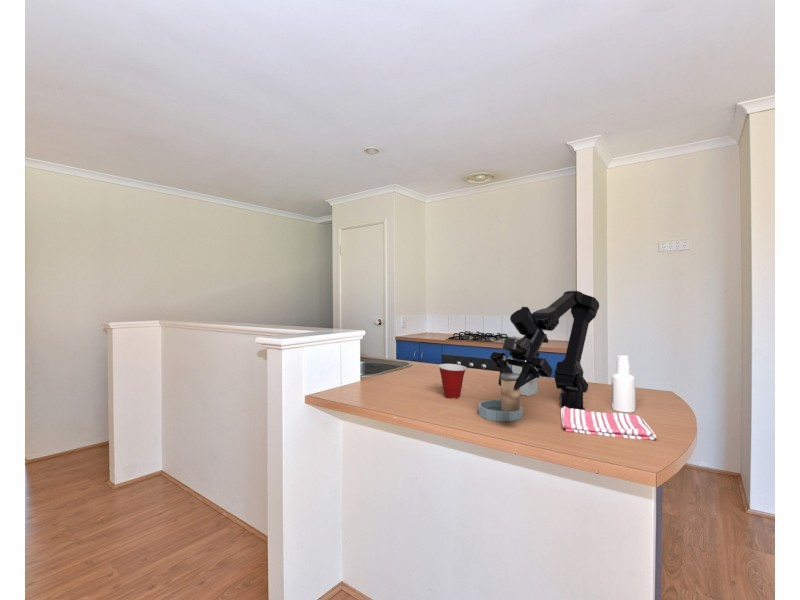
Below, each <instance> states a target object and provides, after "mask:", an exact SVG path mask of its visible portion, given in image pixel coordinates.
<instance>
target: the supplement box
mask: <svg viewBox="0 0 800 600" xmlns="http://www.w3.org/2000/svg"><path fill="white" fill-rule="evenodd" d="M511 370H512V371H513V373H517V374H520V373H521V371H522V367H519V366H515V365H511ZM538 379H539V378H535V379H533V380H531V381H530V382H528V383H526V384H525V385H523V386H522V387H520V396H521V395H522V396H525V395H526V397H530V395H531V396H534V395H536V394H538V392H539V391H538V389H539V388H538ZM533 394H534V395H533Z"/></svg>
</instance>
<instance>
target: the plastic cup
mask: <svg viewBox="0 0 800 600" xmlns="http://www.w3.org/2000/svg"><path fill="white" fill-rule="evenodd" d="M438 368H439V373H440V378H441V383H442V385H441V386H442V388H443V395H444V398H446V399H451V398H455V399H459V398H460V397H461V394H462V393H461V392H462V387H463V381H464V376H465V373H466V370H467V369H468V368H467V366H464V365H460V364H456V363H440V364H438ZM458 397H459V398H458Z"/></svg>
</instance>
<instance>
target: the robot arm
mask: <svg viewBox="0 0 800 600" xmlns="http://www.w3.org/2000/svg"><path fill="white" fill-rule="evenodd" d="M599 308H600V303H599V300H598V299H597V298H596V297H593V296H591V295H587V294H585V293H583V292H581V291H579V290H567V291H564V292H563V294H562V295H561V296H560V297H558V298H557V300H554V302H552V303H551V304H550V305H549V306H547V307H546V308H545V307H544V308H540V309H538V310H536V311H533V312H531V310H530V308H529V307H528V306H521V308H520V309H517V310H516V311H514V312H513V313H512V314H511V315H510V317H509V320H510V322H511V323H512V324H513V326H514V328H515V329H516V331H517V332H518V334H519V335H522V336H523V337H521V338H520V339H518V338H511V337H505V338H504V342H503V343H502V344H503V345H502V349H503V350H506V351H508V355H509V356H511V357H508V356H507V354H506V353H505V352H501V351H492V353H491V355H490V356H489V358H490V359H491V361H492V362H493V363H494V365H495V366H496V367H497V369H499V377H498V383H497V384H498V385H499V386H500V387H501V375H500V374H501V373H513V371H512V365H515V366H519V367H522V371H521V373H520V375H519V377H518V379H517V381H516V383H515V386H514V388H515V390H517V389H518V388H520V387H522V386H523V385H525V384H526V383H528V382H530V381H531V380H533V379H535V378H538V379H539V378H541V377H543V378H548V379H550V378H551V377H552V374H553V368H552V366H551V365H550V364H549V363H550V362H548V360H547V359H546V357H545V358H544V357H539V356H540V354H541V353H539V351H540V349H541V347H542V345H543V344H544V343H545V344H548V343H549V339H548V338H549V337H548V335H547V333H545V332H544V331H549V332H550V331H551V332H552V331H554V330H555V329H556V328H557V327H558V325H559V323H560V318H561V317H562V316H564V314H566V313H567V312H569V310H570V313H571V315H572V319H573V322H572V326H571V331H570V335H569V338H568V344H567V347H566V352H565V355H564V356H565V357H564V359H563V360H562V361H557V363H556V367H555V370H554V374H553V375H554V377H553V379H554V382H555V386H556V389H558V390H559V389H560V393H559V406H561V408H563V407H564V406H566V407H568V408H570V409H572V408H573V409H579V410H585V411H586V409H585V407H584V394H585V393H586V394H587V392H588V389H589V384H588V382H587V380H585V378H584V369H583V367H582V364H581V362H582V361H581V360H582V356H583V351H584V346H585V342H586V338H587V333H588V328H589V324H590V323H591V322H592V321H593V320H594V319H595V318H596V316H597V314H598V310H600V309H599Z"/></svg>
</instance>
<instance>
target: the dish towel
mask: <svg viewBox="0 0 800 600" xmlns="http://www.w3.org/2000/svg"><path fill="white" fill-rule="evenodd" d="M560 409H561V410H560V418H561V419H560V420H561V425H562V427H563V428H564V429H565V431H566V433H574V432H575V433H574V434H580V433H583V434H582V435H588V434H592V435H591V436H600V435H601V436H602V437H603V436H604V437H609V436H612V438H621V437H623V438H624V439H631V440H640V439H642V441H645V440H647V441H648V440H649V441H654V440H656V439H657V435H656V434H655V432H654V430H653V429H652V428H651V427H650V426H649V424H648V423H647V422H646V421H645V419H644V418H643V417H641V416H639V415H637V414H630V413H625V412H600V411H599V412H597V411H588V410H586V409H585V410H579V409H573V408H572V409H570V408H568V407H566V406H564V407H563V408H562V407H561V408H560Z"/></svg>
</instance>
